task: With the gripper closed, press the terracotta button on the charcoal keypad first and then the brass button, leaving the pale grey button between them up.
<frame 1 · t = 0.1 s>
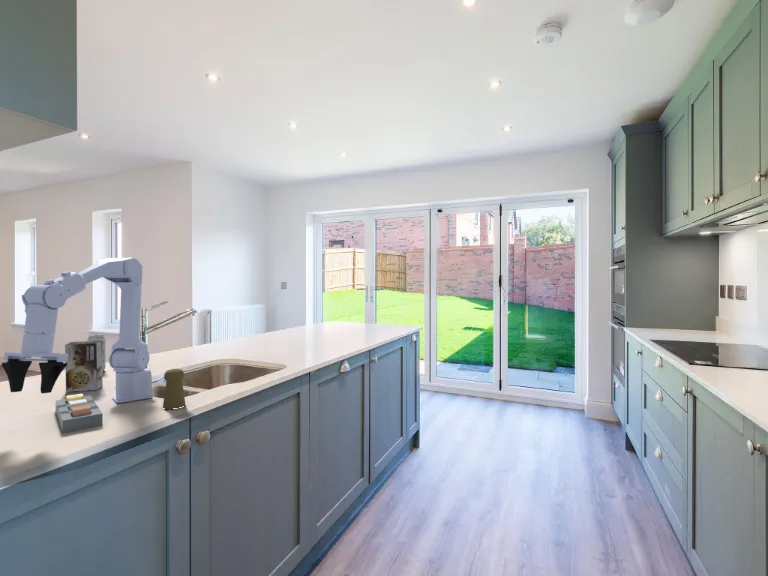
hand: (31, 392, 95), 10 cm above the worktop, tool pointing down, fingers open, 7 cm apart
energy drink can: (96, 372, 164), on the worktop
brass key: (75, 401, 113), point 3 cm above the worktop, slide at 0.0 cm
grey key: (77, 407, 108), point 3 cm above the worktop, slide at 0.0 cm
terracotta key: (81, 413, 103), point 3 cm above the worktop, slide at 0.0 cm
cork: (174, 407, 118), on the worktop
keypad: (77, 417, 108), on the worktop
coffee box: (84, 389, 137), on the worktop
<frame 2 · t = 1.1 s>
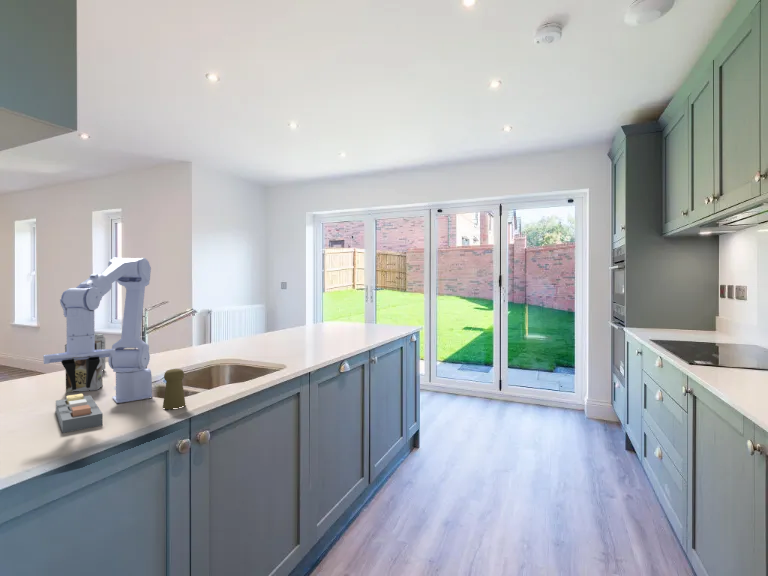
hand: (81, 388, 103), 9 cm above the worktop, tool pointing down, fingers closed
nothing on the worktop moved.
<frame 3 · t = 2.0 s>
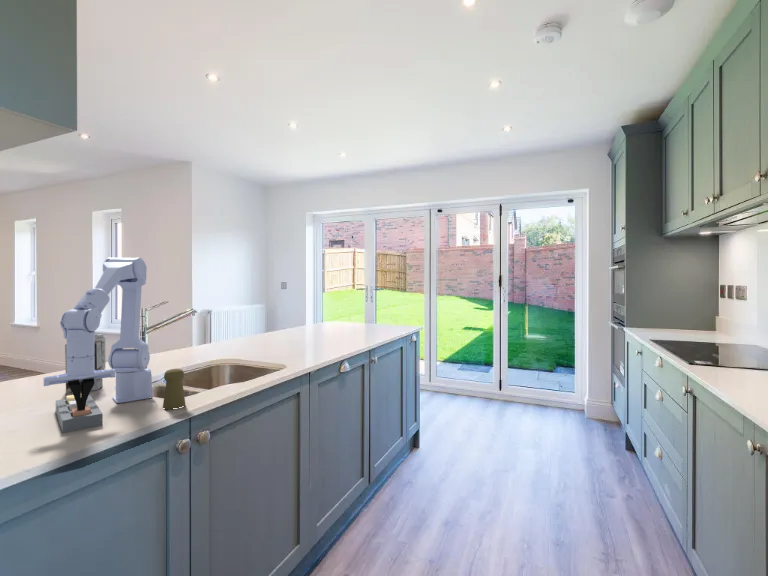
hand: (80, 409, 103), 4 cm above the worktop, tool pointing down, fingers closed, pressing on terracotta key
terracotta key: (81, 415, 103), point 3 cm above the worktop, slide at 0.4 cm, touching gripper
everything else where it was.
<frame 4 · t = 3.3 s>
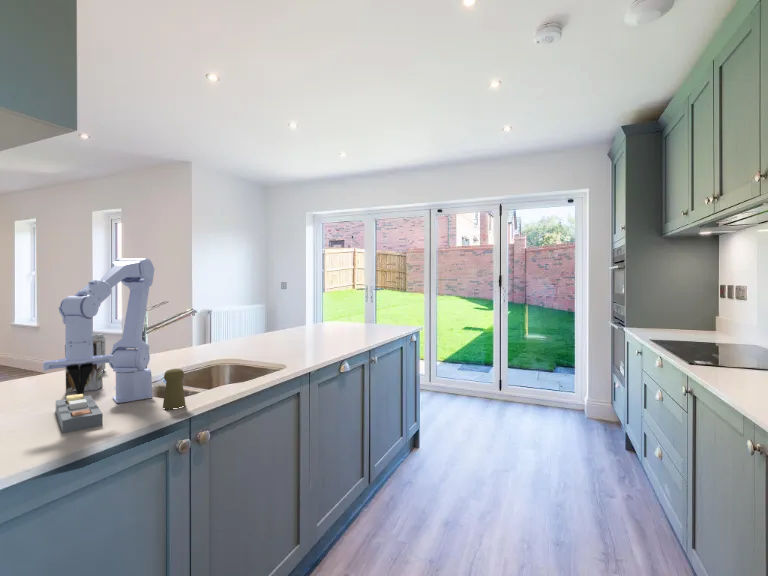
hand: (79, 393, 105), 7 cm above the worktop, tool pointing down, fingers closed
terracotta key: (81, 417, 103), point 2 cm above the worktop, slide at 1.1 cm
everything else where it was.
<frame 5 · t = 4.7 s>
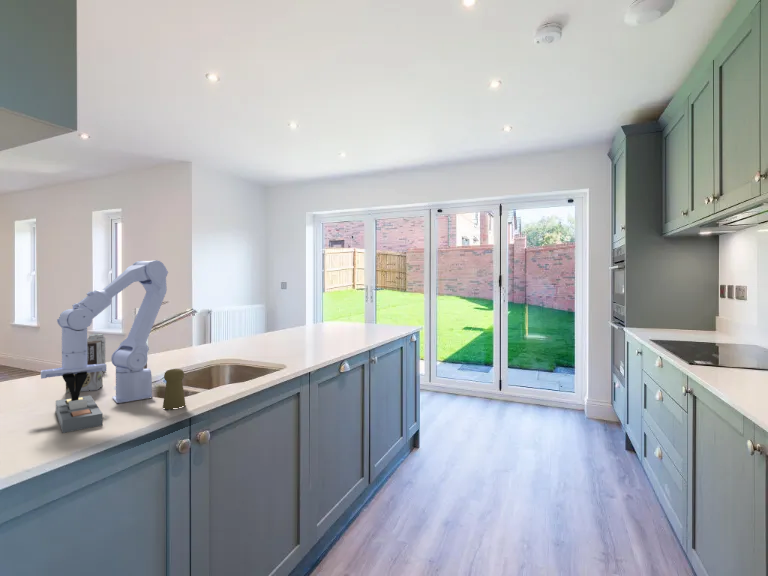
hand: (74, 400, 113), 3 cm above the worktop, tool pointing down, fingers closed, pressing on brass key
brass key: (75, 405, 113), point 2 cm above the worktop, slide at 1.1 cm, touching gripper
everything else where it was.
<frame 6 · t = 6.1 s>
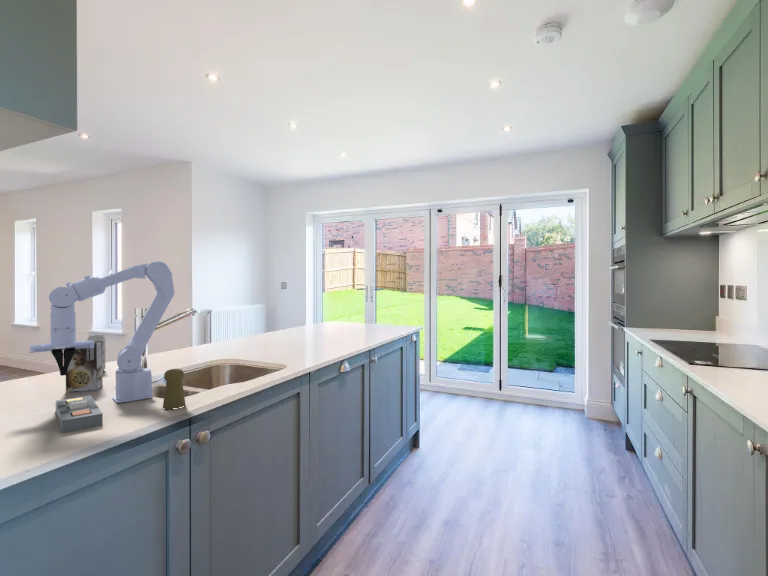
hand: (63, 374, 117), 9 cm above the worktop, tool pointing down, fingers closed
brass key: (75, 405, 113), point 2 cm above the worktop, slide at 1.1 cm
everything else where it was.
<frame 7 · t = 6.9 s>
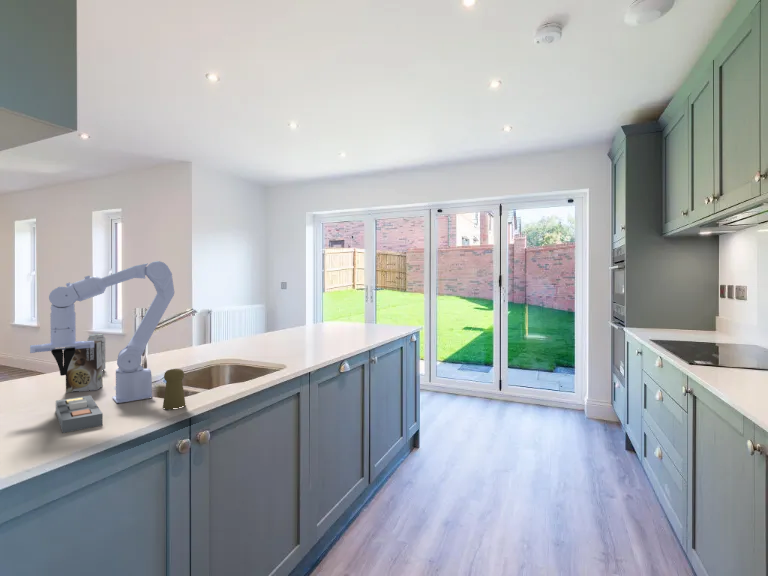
hand: (63, 374, 117), 9 cm above the worktop, tool pointing down, fingers closed
nothing on the worktop moved.
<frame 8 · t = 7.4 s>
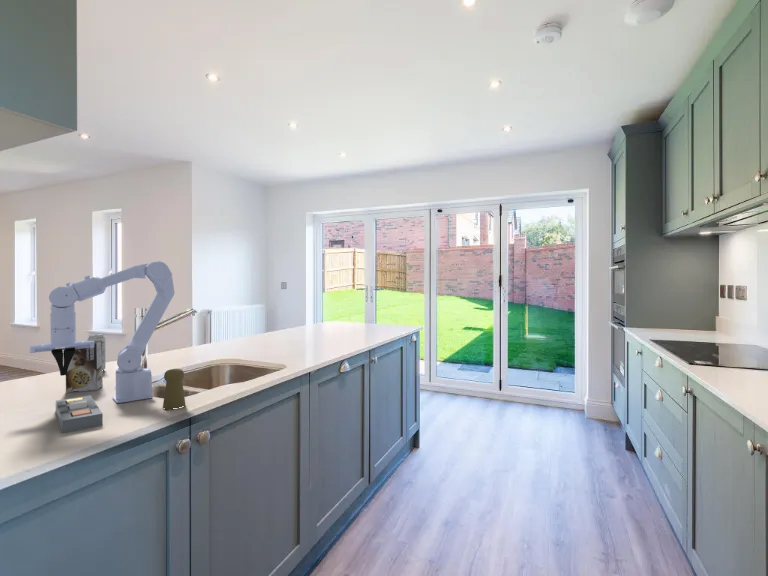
hand: (63, 374, 117), 9 cm above the worktop, tool pointing down, fingers closed
nothing on the worktop moved.
at the end: terracotta key slide at 1.1 cm; brass key slide at 1.1 cm; grey key slide at 0.0 cm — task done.
